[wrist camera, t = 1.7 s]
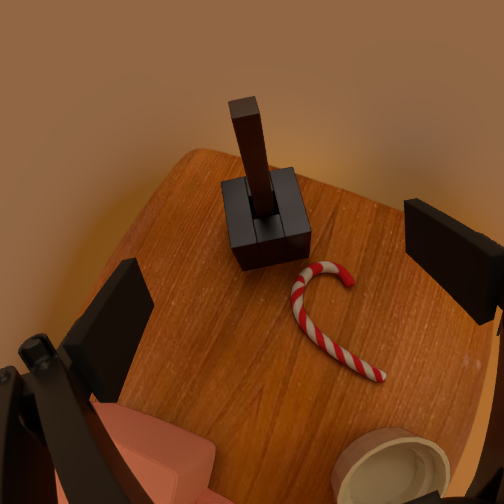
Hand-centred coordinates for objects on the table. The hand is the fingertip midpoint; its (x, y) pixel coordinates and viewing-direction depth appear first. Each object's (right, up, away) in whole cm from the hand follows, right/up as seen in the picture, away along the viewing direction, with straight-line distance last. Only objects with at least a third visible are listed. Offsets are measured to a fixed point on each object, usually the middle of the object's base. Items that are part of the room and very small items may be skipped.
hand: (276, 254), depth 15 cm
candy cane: (+9, -8, +18) cm, 22 cm away
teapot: (-12, -23, +15) cm, 31 cm away
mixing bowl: (+13, -23, +11) cm, 29 cm away
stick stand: (+1, +2, +23) cm, 23 cm away
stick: (+1, +2, +23) cm, 23 cm away
